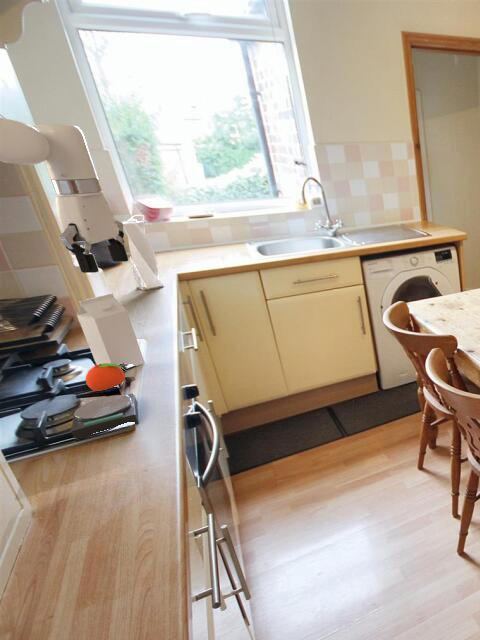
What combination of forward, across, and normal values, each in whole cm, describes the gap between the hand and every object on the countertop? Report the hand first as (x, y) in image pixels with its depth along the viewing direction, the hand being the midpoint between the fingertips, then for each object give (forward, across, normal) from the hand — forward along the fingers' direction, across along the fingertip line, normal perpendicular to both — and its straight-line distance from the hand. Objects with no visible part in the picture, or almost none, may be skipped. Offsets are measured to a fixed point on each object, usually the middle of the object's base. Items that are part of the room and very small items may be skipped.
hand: (106, 266), depth 106 cm
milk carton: (+28, -5, -9) cm, 30 cm away
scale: (+28, +21, +6) cm, 35 cm away
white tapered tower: (+28, -79, -44) cm, 95 cm away
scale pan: (+25, +21, +5) cm, 33 cm away
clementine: (+28, +8, -2) cm, 29 cm away
